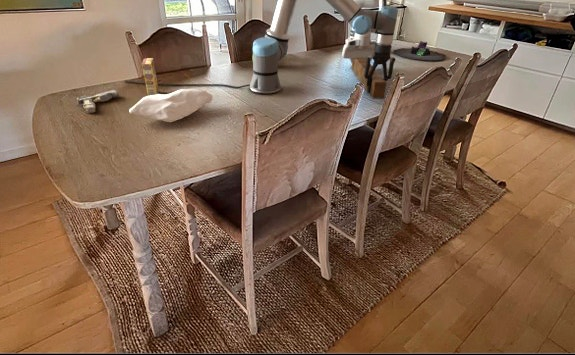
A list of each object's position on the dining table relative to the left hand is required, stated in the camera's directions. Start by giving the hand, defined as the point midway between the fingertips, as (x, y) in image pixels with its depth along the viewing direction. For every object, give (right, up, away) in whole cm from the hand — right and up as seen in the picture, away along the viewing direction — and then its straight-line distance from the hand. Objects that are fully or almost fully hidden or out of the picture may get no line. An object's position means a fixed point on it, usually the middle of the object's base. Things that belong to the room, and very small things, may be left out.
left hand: (374, 92), depth 179 cm
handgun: (-123, -10, -23) cm, 125 cm away
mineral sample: (+47, +42, +70) cm, 94 cm away
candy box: (-105, -4, -12) cm, 105 cm away
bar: (-1, +10, +16) cm, 19 cm away
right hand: (-2, +22, +31) cm, 38 cm away
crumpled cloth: (-90, -16, -29) cm, 96 cm away
